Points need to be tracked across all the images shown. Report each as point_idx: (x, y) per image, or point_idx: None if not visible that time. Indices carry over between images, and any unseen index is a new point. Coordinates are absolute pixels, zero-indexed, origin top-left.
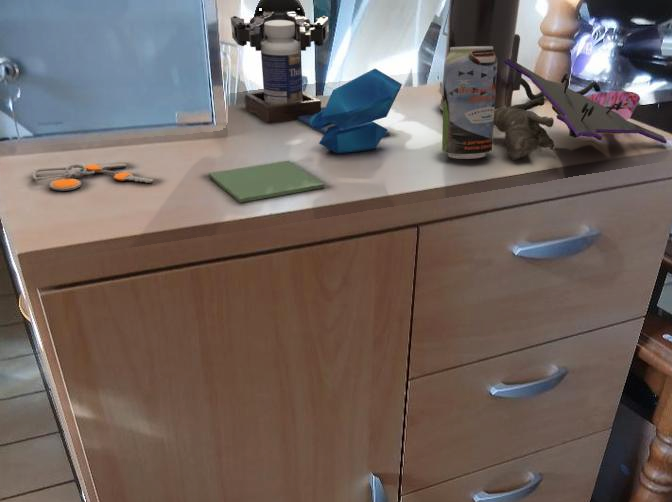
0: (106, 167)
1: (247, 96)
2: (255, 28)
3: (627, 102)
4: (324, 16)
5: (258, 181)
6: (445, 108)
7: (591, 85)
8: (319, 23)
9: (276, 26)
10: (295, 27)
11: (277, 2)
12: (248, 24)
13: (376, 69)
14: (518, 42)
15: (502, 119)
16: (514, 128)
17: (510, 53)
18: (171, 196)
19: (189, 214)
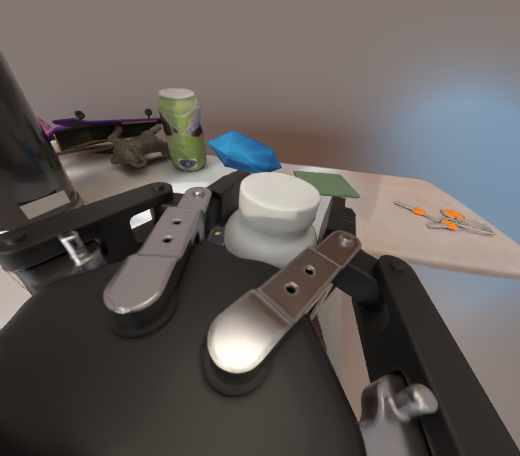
0: (439, 223)
1: (321, 334)
2: (341, 217)
3: (47, 124)
4: (12, 234)
5: (329, 181)
6: (202, 137)
7: None
8: (160, 183)
9: (296, 178)
10: (202, 231)
11: None
12: (369, 421)
13: (233, 130)
14: None
15: (142, 149)
16: (163, 141)
17: None
18: (377, 190)
19: (363, 177)
